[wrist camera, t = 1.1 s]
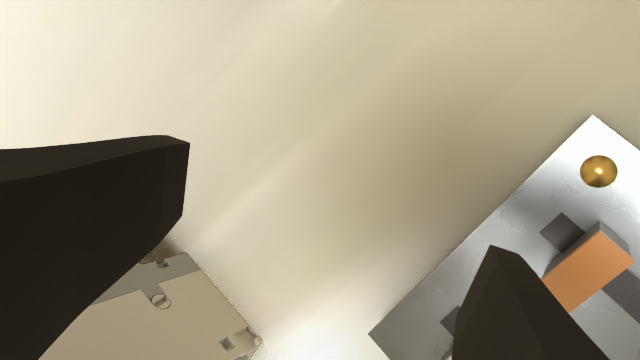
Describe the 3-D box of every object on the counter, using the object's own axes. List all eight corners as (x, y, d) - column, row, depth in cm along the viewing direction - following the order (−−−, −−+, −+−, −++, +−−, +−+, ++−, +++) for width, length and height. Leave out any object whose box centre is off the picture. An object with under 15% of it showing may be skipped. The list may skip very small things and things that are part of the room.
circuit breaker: (138, 196, 35) (-135, 230, 22) (262, 341, 29) (2, 497, 17) (104, 267, 37) (-155, 334, 25) (212, 411, 32) (-44, 590, 19)
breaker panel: (899, 351, 15) (945, 384, 13) (568, 530, 21) (565, 572, 19) (593, 116, 19) (592, 114, 17) (384, 320, 25) (364, 336, 23)
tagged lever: (629, 244, 17) (634, 262, 15) (572, 290, 18) (567, 314, 16) (599, 218, 17) (599, 231, 15) (545, 265, 19) (536, 285, 16)
